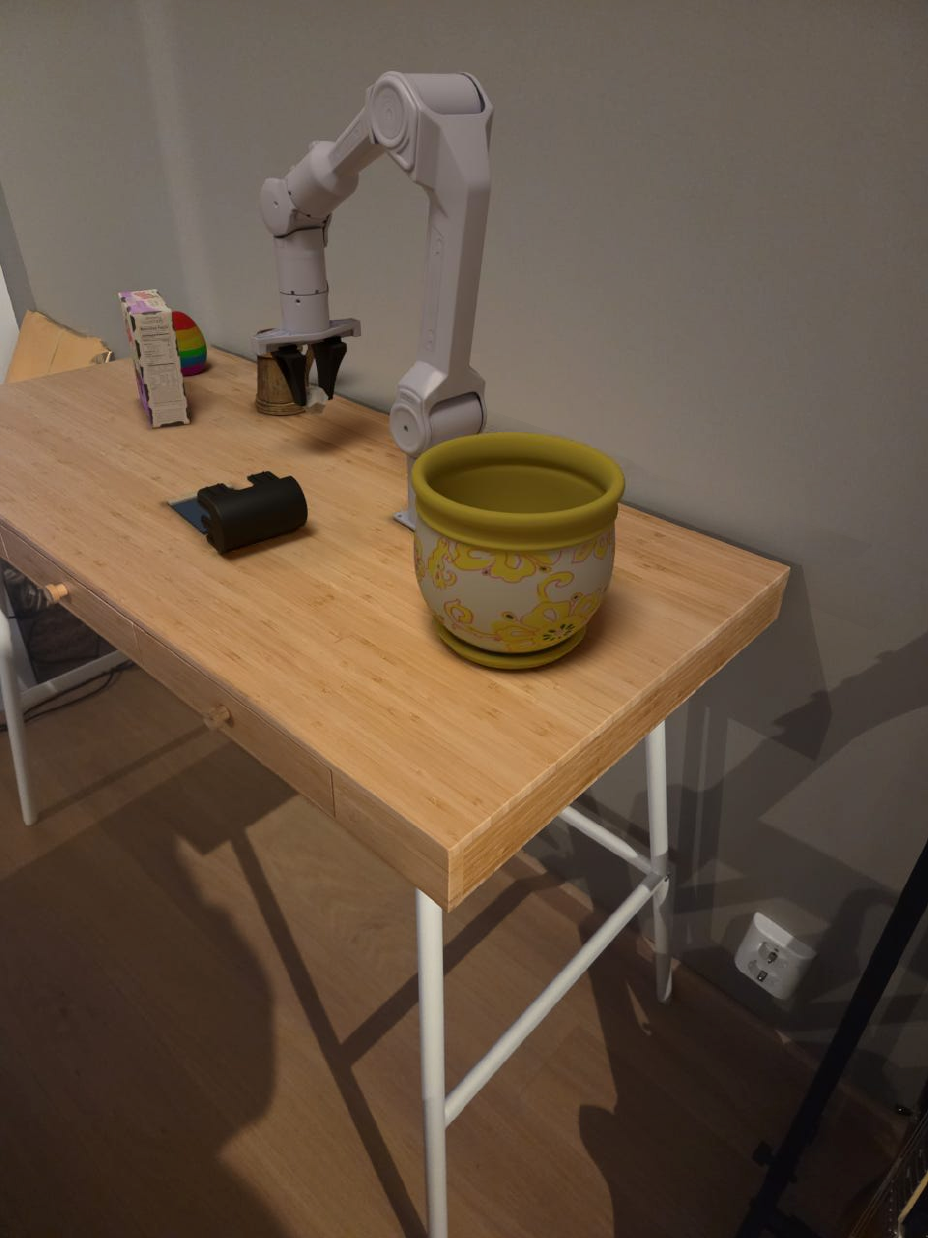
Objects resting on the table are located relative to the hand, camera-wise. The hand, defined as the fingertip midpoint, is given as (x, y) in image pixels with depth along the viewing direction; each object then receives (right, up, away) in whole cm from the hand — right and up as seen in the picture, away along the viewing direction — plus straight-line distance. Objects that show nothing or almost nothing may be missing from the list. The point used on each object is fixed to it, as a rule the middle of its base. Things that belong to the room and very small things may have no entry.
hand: (313, 401), depth 107 cm
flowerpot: (+24, -29, -28) cm, 47 cm away
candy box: (-26, +3, +20) cm, 33 cm away
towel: (-10, -15, -8) cm, 20 cm away
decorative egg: (-29, +15, +37) cm, 49 cm away
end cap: (-4, -20, -14) cm, 24 cm away
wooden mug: (-7, +6, +24) cm, 25 cm away
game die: (0, -1, +1) cm, 2 cm away
